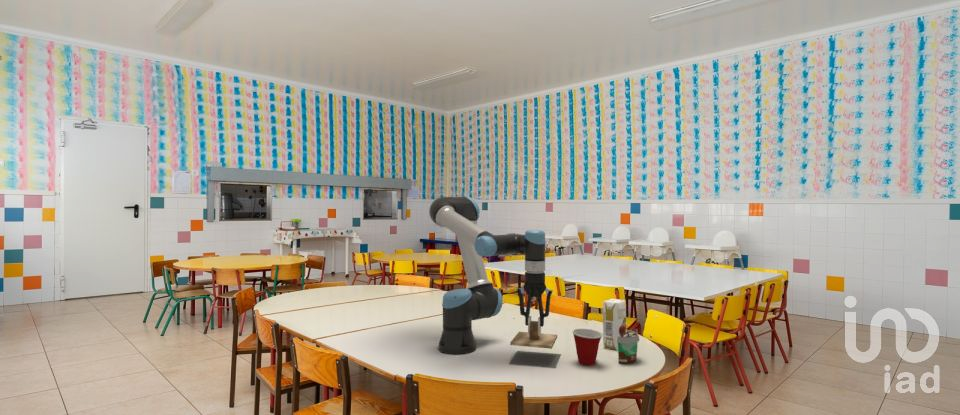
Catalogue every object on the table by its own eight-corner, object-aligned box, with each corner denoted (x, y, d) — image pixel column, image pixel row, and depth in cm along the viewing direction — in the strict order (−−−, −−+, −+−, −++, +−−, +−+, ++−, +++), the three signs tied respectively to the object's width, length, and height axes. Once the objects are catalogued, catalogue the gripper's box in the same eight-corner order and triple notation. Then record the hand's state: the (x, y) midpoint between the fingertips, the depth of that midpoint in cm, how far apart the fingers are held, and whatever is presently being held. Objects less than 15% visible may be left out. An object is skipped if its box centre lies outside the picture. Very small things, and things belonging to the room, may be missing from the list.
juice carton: (600, 347, 204) (600, 300, 203) (611, 343, 210) (611, 297, 210) (618, 351, 198) (617, 303, 198) (628, 346, 205) (628, 300, 205)
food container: (634, 367, 179) (634, 339, 179) (617, 364, 183) (617, 336, 183) (643, 358, 190) (643, 331, 190) (627, 355, 193) (626, 329, 193)
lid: (510, 345, 183) (510, 325, 183) (518, 334, 198) (518, 316, 197) (551, 348, 179) (551, 329, 179) (557, 337, 193) (557, 319, 193)
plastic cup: (598, 371, 175) (598, 336, 175) (568, 367, 180) (568, 333, 180) (606, 362, 185) (606, 329, 185) (577, 358, 190) (577, 326, 190)
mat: (508, 365, 182) (508, 364, 182) (517, 352, 198) (517, 350, 198) (555, 369, 177) (555, 368, 177) (561, 355, 194) (561, 354, 194)
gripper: (511, 272, 186) (511, 335, 187) (555, 274, 182) (554, 339, 182) (515, 269, 193) (515, 330, 194) (557, 271, 189) (557, 333, 190)
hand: (534, 334), depth 188 cm, fingers closed on lid, 3 cm apart
